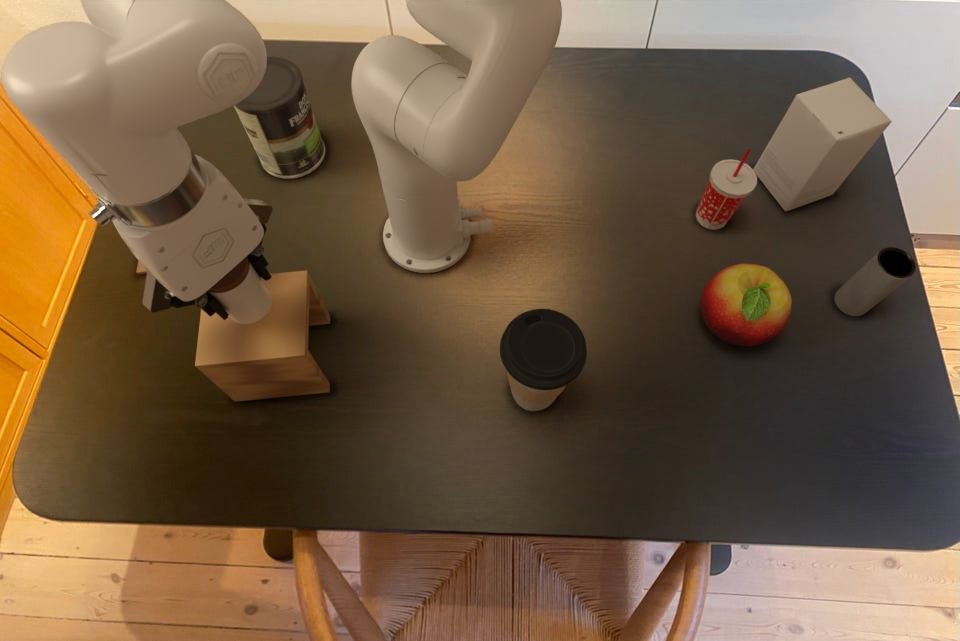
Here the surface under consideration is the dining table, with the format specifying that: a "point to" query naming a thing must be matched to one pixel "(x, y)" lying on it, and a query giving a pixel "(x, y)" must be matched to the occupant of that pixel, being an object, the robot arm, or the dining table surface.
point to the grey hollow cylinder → (875, 281)
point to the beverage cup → (725, 192)
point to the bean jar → (243, 294)
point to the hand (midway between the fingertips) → (239, 290)
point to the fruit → (746, 304)
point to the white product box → (819, 143)
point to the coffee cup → (541, 356)
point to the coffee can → (282, 122)
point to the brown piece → (266, 345)
